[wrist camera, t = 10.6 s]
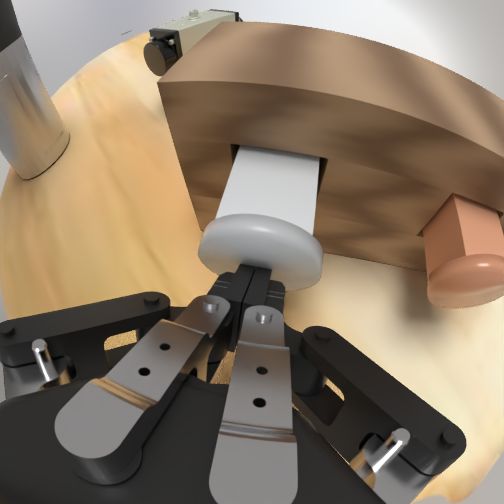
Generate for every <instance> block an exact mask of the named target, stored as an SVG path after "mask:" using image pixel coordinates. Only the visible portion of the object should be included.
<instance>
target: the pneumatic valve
mask: <svg viewBox="0 0 504 504" xmlns="http://www.w3.org/2000/svg"><path fill="white" fill-rule="evenodd" d="M189 14H190V16H187V17H182V18H181V19H178V20H173V21H172V22H169V23H166V24H164V25H161V26H158V27H156V28H153V29H151V30H149V32H150V36H151V38H149V41H150V42H149V43H147V44H146V45H145V47H144V58H145V61H146V64H147V65H148V67H149V69H150V70H151V71H152V72H153V73H154V74H155V75H157V76H163V75H164V74H165V73H166V72H167V71H168V70H169V69H170V68H171V67H172V66H173V65H174V64H175V63H176V62H177V61H178V60H179V59H180V58H181V57H182V56H183V55H184V54H185V53H186V52H187V51H188V50H190V49H191V48H192V47H193V46H194V45H195V44H196V43H197V42H198V41H199V40H201V39H202V38H203V37H204V36H205V35H206V34H207V33H209V32H210V31H211V30H212V29H213V28H215V27H216V26H217V25H218V24H219V23H221V22H243V20H242V19H241V18H239V13H238V12H233V11H223V10H212V9H211V10H207V11H204V12H200V13H198V10H193V11H190V12H189Z"/></svg>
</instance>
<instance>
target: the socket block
mask: <svg viewBox="0 0 504 504" xmlns="http://www.w3.org/2000/svg"><path fill="white" fill-rule="evenodd" d="M157 85H158V88H159V92H160V96H161V100H162V103H163V107H164V111H165V114H166V118H167V122H168V125H169V129H170V132H171V136H172V139H173V143H174V146H175V149H176V153H177V156H178V160H179V163H180V166H181V169H182V173H183V176H184V179H185V182H186V186H187V189H188V192H189V195H190V198H191V202H192V205H193V208H194V211H195V214H196V217H197V220H198V223H199V226H200V229H201V231H205V228H206V226H207V225H208V224H209V223H210V222H211V221H213V220H215V218H216V215H217V212H218V209H219V206H220V203H221V200H222V197H223V194H224V191H225V188H226V185H227V182H228V179H229V176H230V173H231V170H232V167H233V164H234V162H235V159H236V156H237V153H238V150H239V148H240V145H247V146H255V147H263V148H270V149H277V150H284V151H290V152H296V153H302V154H307V155H313V156H318V157H320V158H319V172H318V185H317V197H316V208H315V218H314V228H313V237H315V238H316V239H317V241H318V242H319V243H320V245H321V247H322V250H323V252H325V253H331V254H336V255H342V256H347V257H352V258H358V259H363V260H369V261H374V262H379V263H384V264H390V265H395V266H400V267H405V268H410V269H415V270H421V271H426V272H427V268H426V256H425V245H424V236H423V227H424V226H425V225H426V224H427V223H428V221H429V220H430V219H431V218H432V217H433V216H434V214H435V213H436V212H437V211H438V210H439V208H440V207H441V206H442V205H443V204H444V202H445V201H446V200H447V199H448V197H449V196H450V195H451V194H452V193H455V194H458V195H461V196H463V197H466V198H469V199H471V200H474V201H476V202H479V203H482V204H484V205H486V206H489V207H491V208H494V209H496V210H497V213H498V217H499V220H500V224H501V228H502V231H503V235H504V101H503V100H502V99H500V98H499V97H497V96H496V95H494V94H493V93H491V92H490V91H488V90H486V89H484V88H483V87H481V86H479V85H478V84H476V83H474V82H472V81H470V80H469V79H467V78H465V77H463V76H461V75H459V74H457V73H455V72H453V71H451V70H449V69H447V68H445V67H443V66H441V65H438V64H436V63H434V62H431V61H429V60H427V59H424V58H422V57H419V56H417V55H414V54H411V53H409V52H406V51H403V50H400V49H397V48H395V47H392V46H389V45H385V44H382V43H379V42H376V41H372V40H368V39H365V38H361V37H357V36H353V35H349V34H344V33H339V32H335V31H329V30H324V29H318V28H312V27H305V26H297V25H288V24H278V23H264V22H221V23H219V24H218V25H217V26H216V27H215V28H213V29H212V30H211V31H210V32H209V33H207V34H206V35H205V36H204V37H203V38H202V39H201V40H199V41H198V42H197V43H196V44H195V45H194V46H193V47H192V48H191V49H190V50H188V51H187V52H186V53H185V54H184V55H183V56H182V57H181V58H180V59H179V60H178V61H177V62H176V63H175V64H174V65H173V66H172V67H171V68H170V69H169V70H168V71H167V72H166V73H165V74H164V75H163V76H162V78H161V79H160V80H159V81H158V82H157Z"/></svg>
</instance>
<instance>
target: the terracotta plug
mask: <svg viewBox="0 0 504 504" xmlns="http://www.w3.org/2000/svg"><path fill="white" fill-rule="evenodd" d="M423 236H424V245H425V256H426V268H427V296H428V301H429V302H430V303H431V304H433V305H435V306H439V307H443V308H468V307H474V306H479V305H483V304H486V303H489V302H492V301H494V300H496V299H498V298H500V297H502V296H503V295H504V235H503V231H502V228H501V224H500V220H499V217H498V213H497V210H496V209H494V208H491V207H489V206H486V205H484V204H482V203H479V202H476V201H474V200H471V199H469V198H466V197H463V196H461V195H458V194H455V193H452V194H451V195H450V196H449V197H448V199H447V200H446V201H445V202H444V204H443V205H442V206H441V207H440V208H439V210H438V211H437V212H436V213H435V214H434V216H433V217H432V218H431V219H430V220H429V221H428V223H427V224H426V225H425V226H424V227H423Z"/></svg>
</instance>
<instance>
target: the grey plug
mask: <svg viewBox="0 0 504 504" xmlns="http://www.w3.org/2000/svg"><path fill="white" fill-rule="evenodd" d="M319 158H320V157H318V156H313V155H307V154H302V153H296V152H290V151H284V150H277V149H270V148H263V147H255V146H247V145H240V148H239V150H238V153H237V156H236V159H235V162H234V164H233V167H232V170H231V173H230V176H229V179H228V182H227V185H226V188H225V191H224V194H223V197H222V200H221V203H220V206H219V209H218V212H217V215H216V218H215V220H213V221H211V222H210V223H209V224H208V225H207V226H206V228H205V231H204V233H203V237H202V240H201V243H200V246H199V249H198V256H199V258H200V260H201V262H202V263H203V264H204V265H205V266H206V267H207V268H208V269H210V270H211V271H213V272H214V273H216V274H217V275H221V274H223V273H225V272H232V273H235V272H236V270H237V268H238V267H239V265H240V264H244V265H250V266H255V267H261V268H266V269H271V270H272V274H271V279H270V280H275V281H280V282H282V283H283V285H284V286H285V291H294V290H301V289H305V288H308V287H311V286H313V285H314V284H316V283H317V282H318V281H319V279H320V277H321V270H322V260H323V250H322V247H321V245H320V243H319V242H318V241H317V239H316V238H315V237H313V228H314V218H315V208H316V197H317V185H318V172H319Z"/></svg>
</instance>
